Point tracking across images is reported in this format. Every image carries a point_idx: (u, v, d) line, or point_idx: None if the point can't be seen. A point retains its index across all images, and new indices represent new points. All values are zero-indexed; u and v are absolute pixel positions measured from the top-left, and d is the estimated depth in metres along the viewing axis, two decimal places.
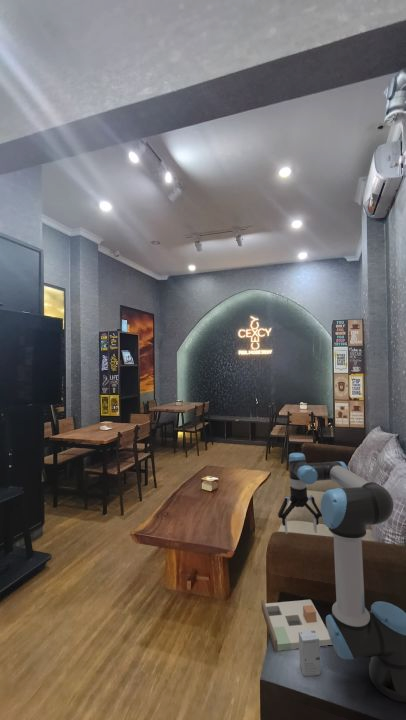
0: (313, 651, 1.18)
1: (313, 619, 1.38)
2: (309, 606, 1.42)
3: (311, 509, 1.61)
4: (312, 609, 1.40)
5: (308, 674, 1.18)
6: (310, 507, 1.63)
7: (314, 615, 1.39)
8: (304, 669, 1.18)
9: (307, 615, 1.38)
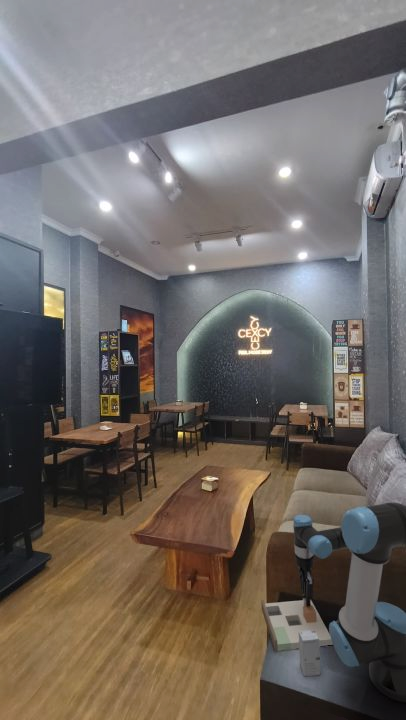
0: (313, 651, 1.18)
1: (313, 619, 1.38)
2: (309, 606, 1.42)
3: (304, 586, 1.42)
4: (312, 609, 1.40)
5: (308, 674, 1.18)
6: None
7: (314, 615, 1.39)
8: (304, 669, 1.18)
9: (307, 615, 1.38)
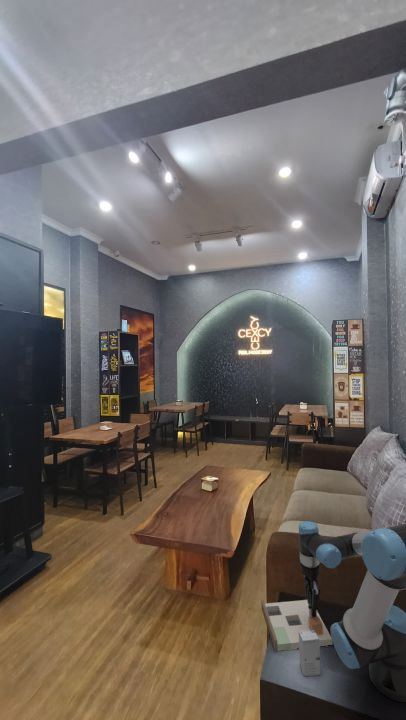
0: (313, 651, 1.18)
1: (319, 631, 1.32)
2: (315, 617, 1.35)
3: (310, 596, 1.35)
4: (318, 621, 1.34)
5: (308, 674, 1.18)
6: None
7: (320, 627, 1.32)
8: (304, 669, 1.18)
9: (313, 627, 1.32)
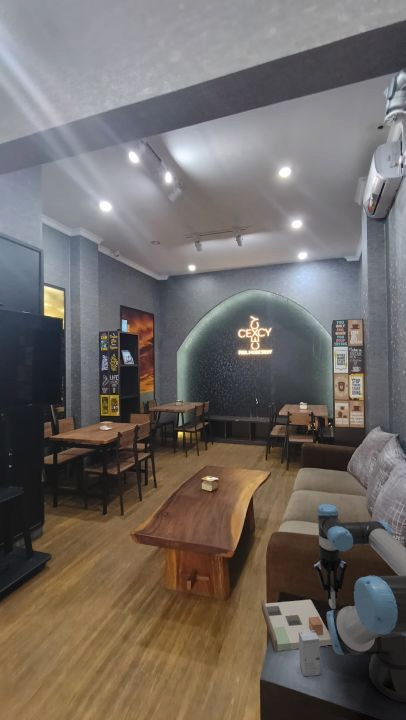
0: (313, 651, 1.18)
1: (319, 632, 1.32)
2: (315, 618, 1.35)
3: (336, 578, 1.33)
4: (318, 621, 1.33)
5: (308, 674, 1.18)
6: None
7: (321, 627, 1.32)
8: (304, 669, 1.18)
9: (313, 627, 1.32)
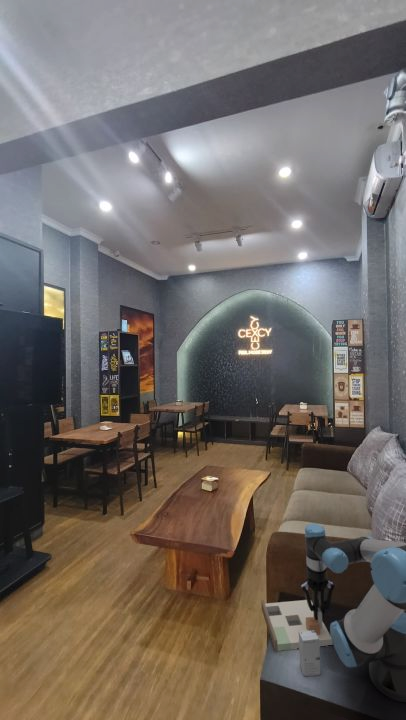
0: (313, 651, 1.18)
1: (316, 632, 1.32)
2: (312, 618, 1.35)
3: (323, 599, 1.33)
4: (315, 621, 1.34)
5: (308, 674, 1.18)
6: None
7: (317, 628, 1.32)
8: (304, 669, 1.18)
9: (310, 627, 1.32)
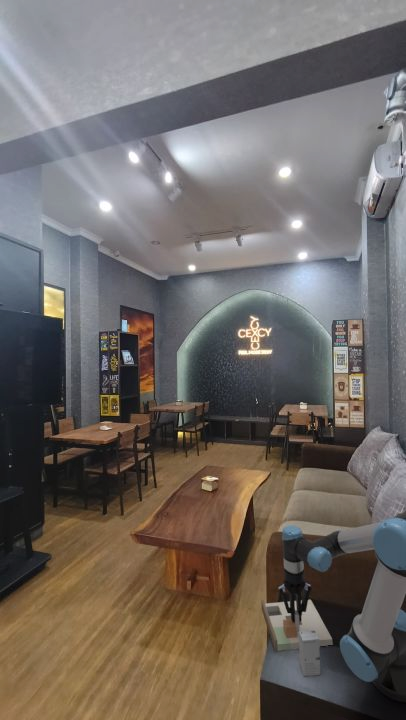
0: (313, 651, 1.18)
1: (293, 634, 1.31)
2: (289, 620, 1.35)
3: (300, 601, 1.32)
4: (292, 623, 1.33)
5: (308, 674, 1.18)
6: None
7: (294, 630, 1.31)
8: (304, 669, 1.18)
9: (287, 630, 1.31)
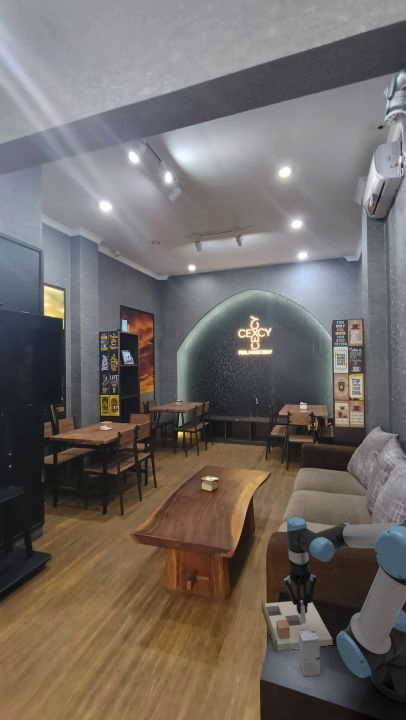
0: (313, 651, 1.18)
1: (286, 635, 1.31)
2: (283, 621, 1.34)
3: (306, 592, 1.34)
4: (285, 624, 1.33)
5: (308, 674, 1.18)
6: None
7: (287, 631, 1.31)
8: (304, 669, 1.18)
9: (280, 631, 1.31)
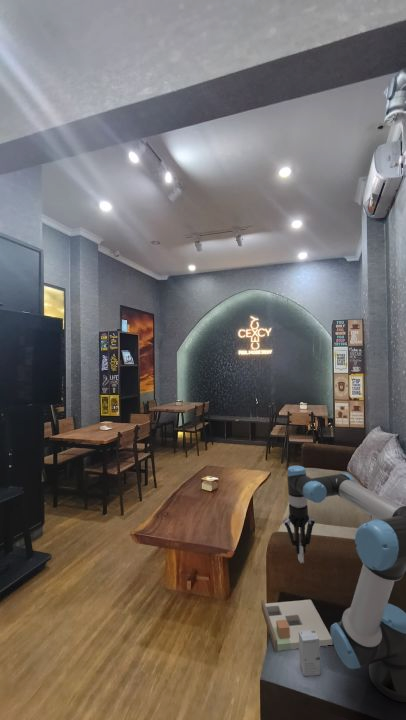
0: (313, 651, 1.18)
1: (286, 635, 1.31)
2: (283, 621, 1.34)
3: (304, 534, 1.43)
4: (285, 624, 1.33)
5: (308, 674, 1.18)
6: None
7: (287, 631, 1.31)
8: (304, 669, 1.18)
9: (280, 631, 1.31)
